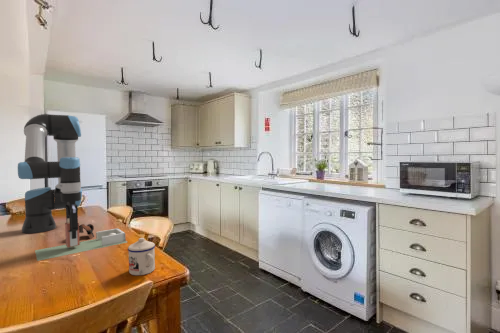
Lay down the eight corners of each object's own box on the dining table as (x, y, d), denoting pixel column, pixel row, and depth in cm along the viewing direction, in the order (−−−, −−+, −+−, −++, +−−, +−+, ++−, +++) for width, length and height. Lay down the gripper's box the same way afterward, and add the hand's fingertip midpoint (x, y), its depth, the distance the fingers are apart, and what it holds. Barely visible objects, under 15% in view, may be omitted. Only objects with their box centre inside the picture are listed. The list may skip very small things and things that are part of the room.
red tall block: (65, 244, 122) (64, 218, 122) (77, 242, 125) (76, 216, 125) (67, 247, 119) (66, 220, 118) (79, 245, 122) (78, 218, 121)
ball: (108, 240, 133) (105, 234, 130) (116, 235, 135) (113, 229, 133) (111, 244, 130) (108, 238, 128) (119, 239, 132) (116, 233, 130)
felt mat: (34, 250, 119) (34, 250, 119) (118, 235, 142) (118, 234, 142) (37, 261, 107) (37, 260, 107) (127, 242, 130) (127, 242, 130)
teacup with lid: (123, 271, 98) (122, 238, 97) (147, 263, 104) (147, 233, 104) (140, 281, 90) (139, 246, 89) (164, 272, 96) (164, 239, 96)
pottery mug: (88, 242, 132) (78, 228, 130) (73, 250, 134) (63, 236, 132) (102, 229, 144) (93, 217, 142) (88, 236, 145) (79, 224, 143)
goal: (96, 240, 133) (96, 231, 133) (118, 235, 140) (118, 228, 140) (102, 246, 124) (102, 237, 124) (125, 241, 131) (125, 233, 131)
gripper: (57, 191, 125) (59, 241, 126) (64, 195, 112) (66, 251, 113) (76, 189, 130) (78, 237, 131) (85, 193, 117) (86, 247, 118)
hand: (72, 243), depth 122 cm, fingers closed on red tall block, 4 cm apart
